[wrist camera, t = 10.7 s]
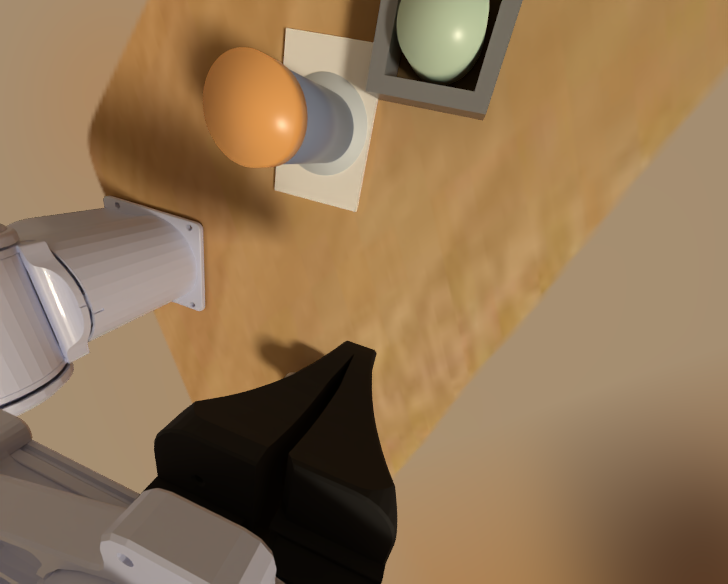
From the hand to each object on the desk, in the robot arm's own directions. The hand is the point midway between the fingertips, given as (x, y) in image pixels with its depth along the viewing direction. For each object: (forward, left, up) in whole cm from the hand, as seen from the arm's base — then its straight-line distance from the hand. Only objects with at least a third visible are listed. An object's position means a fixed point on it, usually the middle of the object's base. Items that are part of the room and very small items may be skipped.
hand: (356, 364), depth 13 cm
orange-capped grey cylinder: (-7, +8, -10) cm, 14 cm away
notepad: (-7, +8, -10) cm, 15 cm away
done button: (-1, +13, -10) cm, 17 cm away
